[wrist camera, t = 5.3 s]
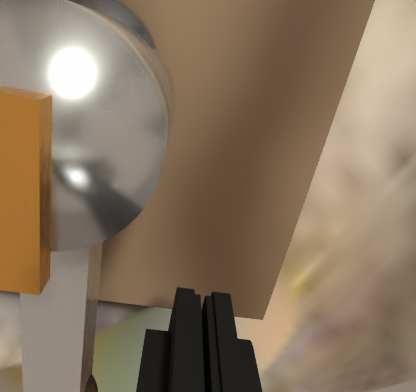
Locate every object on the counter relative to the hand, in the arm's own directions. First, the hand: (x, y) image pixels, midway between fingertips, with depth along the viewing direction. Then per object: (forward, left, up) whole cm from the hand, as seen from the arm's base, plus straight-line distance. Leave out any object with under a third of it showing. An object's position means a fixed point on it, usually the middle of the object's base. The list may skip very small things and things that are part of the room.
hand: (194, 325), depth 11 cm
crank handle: (+4, -2, -2) cm, 5 cm away
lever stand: (+5, -6, -4) cm, 9 cm away
